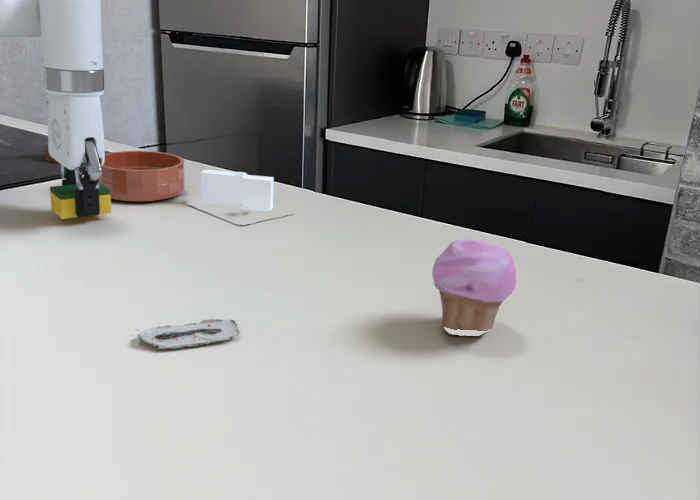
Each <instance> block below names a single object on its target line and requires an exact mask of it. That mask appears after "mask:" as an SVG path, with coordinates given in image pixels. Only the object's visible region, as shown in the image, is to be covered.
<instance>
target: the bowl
mask: <svg viewBox="0 0 700 500" xmlns="http://www.w3.org/2000/svg"><path fill="white" fill-rule="evenodd" d="M101 171H102V175H101V176H100V179H99V183H101V184H102V185H104V186H105V187H107V188H108V189H110V195H111V200H116V201H122V202H131V203H133V202H134V203H135V202H136V203H142V202H143V201H144V202H143V203H145V201H147V202H156V201H162V200H166V199H171V198H175V197H177V196H178V197H179V196H180V195H181V194H183V193H184V192H185V187H186V185H185V178H186V177H185V160H184V158H182V157H181V156H179V155H176V154H173V153H169V152H162V151H153V150H123V151H114V152H107V153H105V161H104V164H103V166H102V167H101ZM161 199H162V200H161ZM155 200H156V201H155ZM141 201H142V202H141Z"/></svg>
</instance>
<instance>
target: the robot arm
mask: <svg viewBox="0 0 700 500" xmlns="http://www.w3.org/2000/svg"><path fill="white" fill-rule="evenodd" d="M102 18H103V17H102V0H0V38H20V37H21V38H25V37H26V38H41V52H42V64H43V68H42V69H43V80H44V92H45V93H46V94H48V96H47V99H48V100H47V101H48V105H47V144H48V150H49V154H50V156H51V157H52V158H53V159H55V160H56V161H57V162H59V163H58V164H60V176H61V178H62V179H61V186H63V185H74V184H77V189H74V192H75V210H76V215H77V216H78V217H77V218H85V217H93V216H99V215H100V214H99V213H100V205H99V179H100V176H101V175H102V171H101V167H102V166H103V164H104V161H105V154H106V152H105V151H106V146H105V131H104V120H103V111H102V103H101V97H100V96H104V95H105V74H104V73H105V72H104V49H103V48H104V47H103V43H104V42H103V23H102V22H103V19H102ZM84 163H86V165H87V166H84ZM84 172H87V173H84Z"/></svg>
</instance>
